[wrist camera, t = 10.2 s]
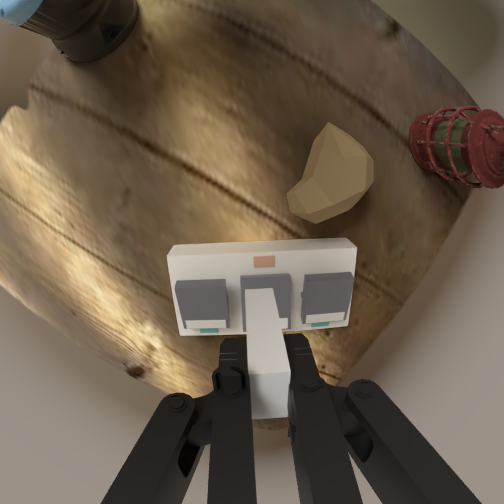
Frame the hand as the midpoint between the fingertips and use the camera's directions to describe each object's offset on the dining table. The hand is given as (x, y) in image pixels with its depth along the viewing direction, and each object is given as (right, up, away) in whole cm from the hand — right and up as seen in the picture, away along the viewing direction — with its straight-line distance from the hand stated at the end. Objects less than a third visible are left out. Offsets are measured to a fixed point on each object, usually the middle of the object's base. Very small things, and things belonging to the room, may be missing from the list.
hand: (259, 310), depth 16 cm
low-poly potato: (+10, +15, +27) cm, 33 cm away
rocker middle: (+2, -4, +26) cm, 27 cm away
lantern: (+31, +22, +26) cm, 46 cm away
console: (+1, -2, +33) cm, 33 cm away
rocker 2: (+11, -4, +27) cm, 29 cm away
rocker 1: (-7, -5, +26) cm, 28 cm away
